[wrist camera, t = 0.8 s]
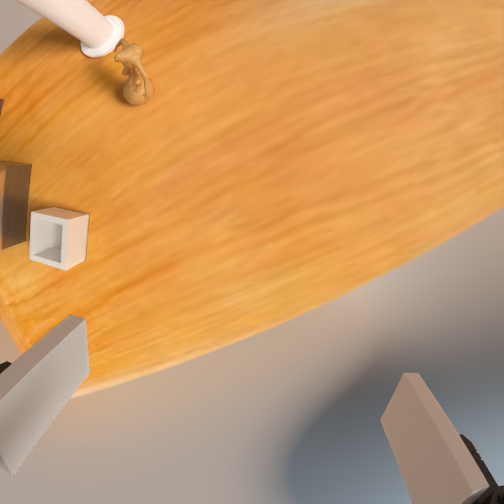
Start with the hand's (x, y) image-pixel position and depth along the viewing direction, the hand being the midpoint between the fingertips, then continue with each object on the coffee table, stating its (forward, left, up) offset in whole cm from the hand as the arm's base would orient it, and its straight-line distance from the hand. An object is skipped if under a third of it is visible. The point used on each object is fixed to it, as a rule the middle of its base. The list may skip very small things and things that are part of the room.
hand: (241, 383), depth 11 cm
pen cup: (+4, -26, -29) cm, 39 cm away
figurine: (-17, -17, -29) cm, 38 cm away
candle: (-25, -27, -29) cm, 47 cm away
